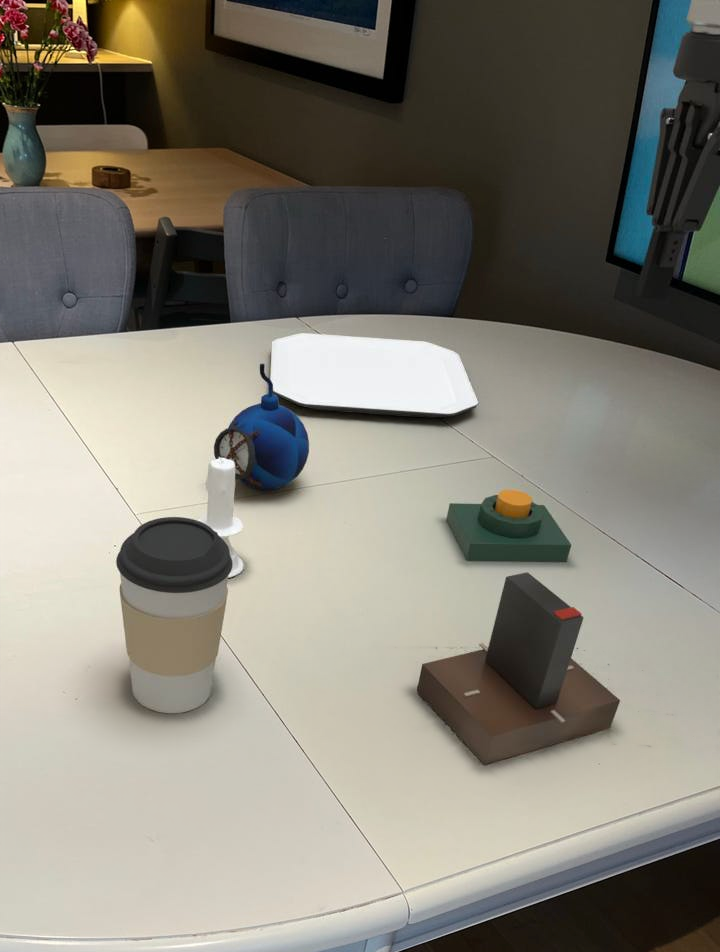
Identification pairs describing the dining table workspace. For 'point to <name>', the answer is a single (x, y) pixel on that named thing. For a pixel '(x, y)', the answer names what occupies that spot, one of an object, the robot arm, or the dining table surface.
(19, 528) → the dining table surface
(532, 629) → the dark grey block
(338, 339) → the plate
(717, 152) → the robot arm
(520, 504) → the button
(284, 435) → the bomb
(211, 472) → the candle
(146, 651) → the coffee cup
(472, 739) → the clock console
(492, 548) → the box
